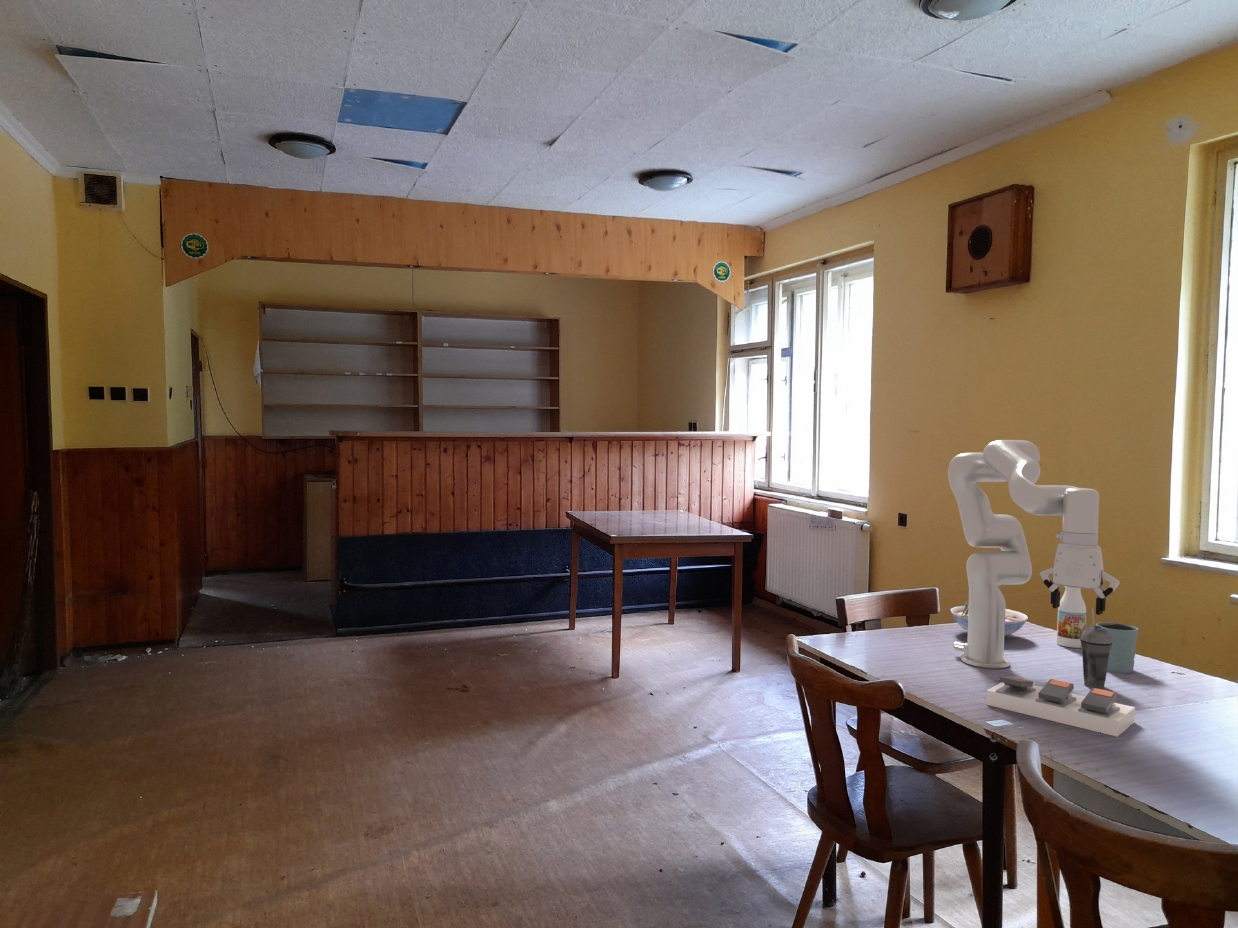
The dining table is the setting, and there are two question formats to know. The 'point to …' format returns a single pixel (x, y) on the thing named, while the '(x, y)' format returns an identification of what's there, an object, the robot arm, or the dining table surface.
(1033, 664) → the dining table surface
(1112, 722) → the rocker switch panel
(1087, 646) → the beverage cup
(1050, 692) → the middle rocker
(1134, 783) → the dining table surface
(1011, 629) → the ramen bowl
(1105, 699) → the right rocker
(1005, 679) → the left rocker
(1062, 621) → the milk bottle
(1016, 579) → the robot arm
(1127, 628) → the teal plant pot
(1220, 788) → the dining table surface
